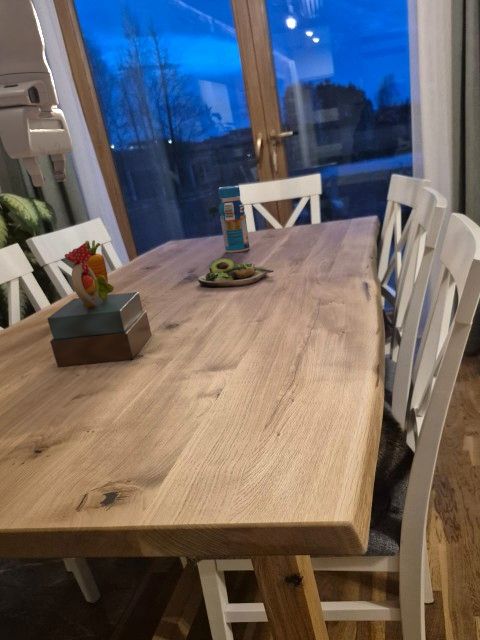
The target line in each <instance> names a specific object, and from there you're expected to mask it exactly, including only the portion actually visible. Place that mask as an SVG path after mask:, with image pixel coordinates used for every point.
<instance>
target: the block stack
mask: <svg viewBox="0 0 480 640" xmlns="http://www.w3.org/2000/svg"><path fill="white" fill-rule="evenodd" d="M141 300H142V299H141V296H140V292H139V291H134V292H125V293H124V292H123V293H115V294H107V299H106V300H102V299H101V298H100V297H99V295H98V299H97V301H96V302H95V303H94V306H93V307H90V308H88V307H87V306H86V305H85V303H83V302H82V300H81V299H80V298H79V297H75V298H72V299H71V300H70V301H69V302H67V303H66V304H64V305H63V306H62V307H60V308H59V309H58V310H57V311H55V312H54V313H52V314H51V315H49V316H48V317H47V322H48V325H49V328H50V333H51V335H52V339H50V341H49V343H50V347H51V349H52V352H53V356H54V359H55V363H56V366H57V367H58V368H59V367H60V368H61V367H71V366H82V365H91V364H100V363H110V362H112V363H113V362H122V361H131V360H134V359H135V358H136V357H137V355H138V354H139V352H140V351H142V348H143V347H144V346H145V344H146V343H147V342H148V340H149V338H151V337H152V330H151V325H150V321H149V317H148V311H147V310H144V309H143V304H142V301H141Z"/></svg>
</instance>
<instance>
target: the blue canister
mask: <svg viewBox="0 0 480 640" xmlns="http://www.w3.org/2000/svg"><path fill="white" fill-rule="evenodd" d="M217 191H218V197H219V199H220V200H221V201H220V204H219V206H218V212H219V214H220V216H219V221H220V225H221V231H222V238H223V242H224V250H225V251H224V252H226V253H228V254H229V253H230V254H231V253H232V254H233V253H242V252H247V251H249V250H250V249H251V247H250V241H249V233H248V226H247V215H246V213H245V205H244V203H243V202H242V201H241V199H240V197H241V190H240V186H239V185H227V186H222V187H221V186H220V187H219V188H218V190H217Z"/></svg>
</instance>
